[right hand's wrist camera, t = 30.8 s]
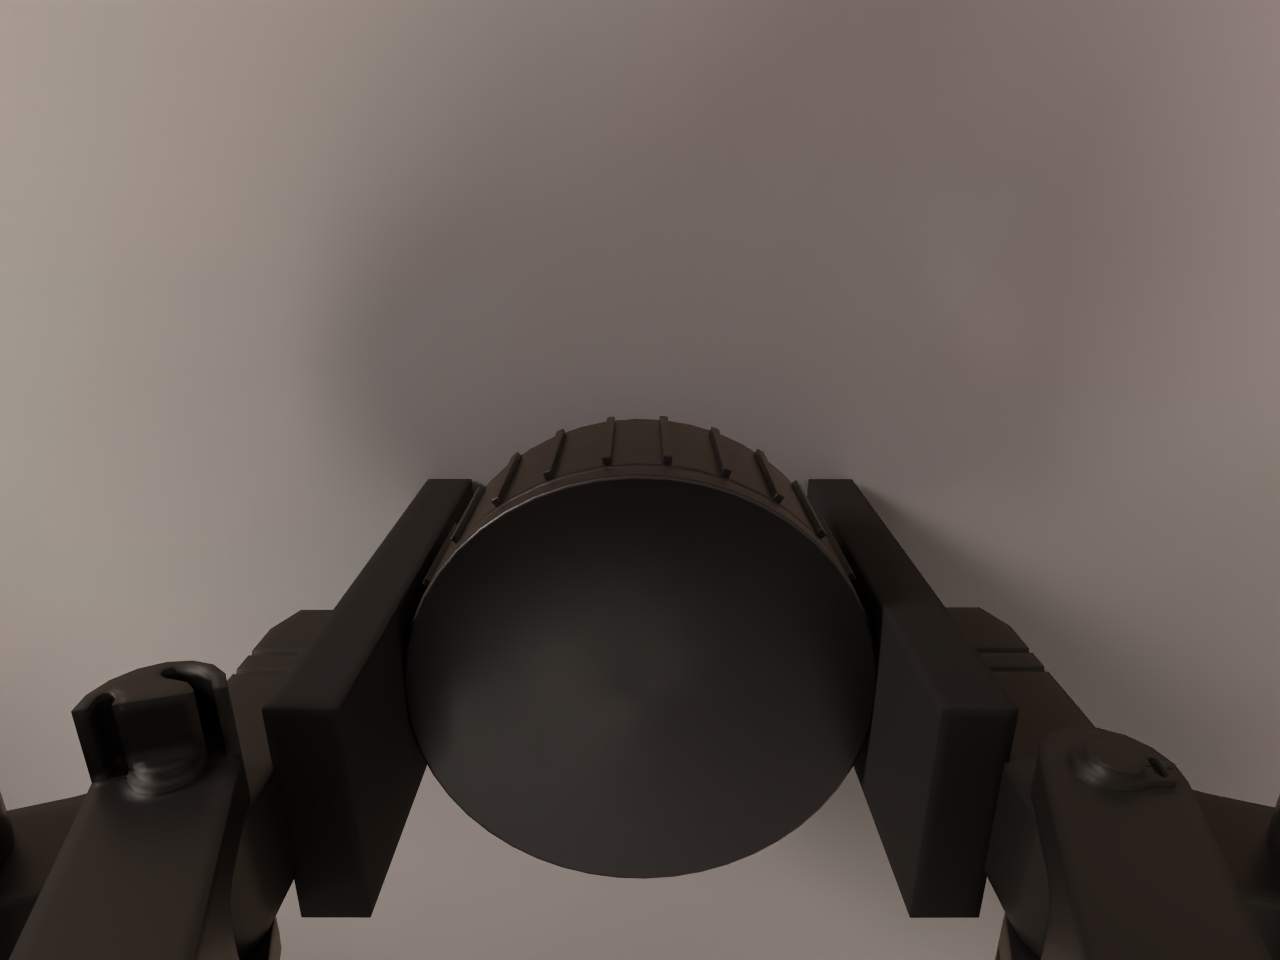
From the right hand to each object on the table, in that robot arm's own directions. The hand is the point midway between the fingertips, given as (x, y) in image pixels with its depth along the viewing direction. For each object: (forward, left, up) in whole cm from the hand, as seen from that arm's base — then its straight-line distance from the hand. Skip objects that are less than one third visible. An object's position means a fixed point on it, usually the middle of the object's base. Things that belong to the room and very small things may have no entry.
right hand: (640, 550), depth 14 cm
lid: (0, 0, +4) cm, 4 cm away
